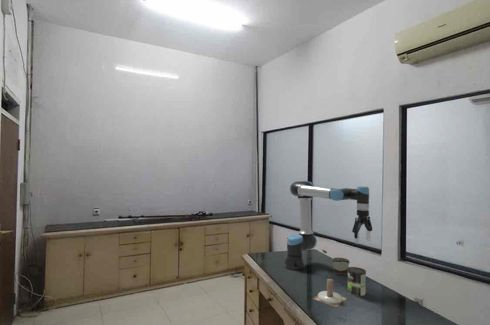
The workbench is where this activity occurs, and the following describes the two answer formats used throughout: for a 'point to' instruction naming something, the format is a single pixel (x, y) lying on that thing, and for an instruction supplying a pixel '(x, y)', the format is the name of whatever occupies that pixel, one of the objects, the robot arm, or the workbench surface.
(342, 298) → the mat
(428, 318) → the workbench surface
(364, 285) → the coffee can
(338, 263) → the food container
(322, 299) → the lid
